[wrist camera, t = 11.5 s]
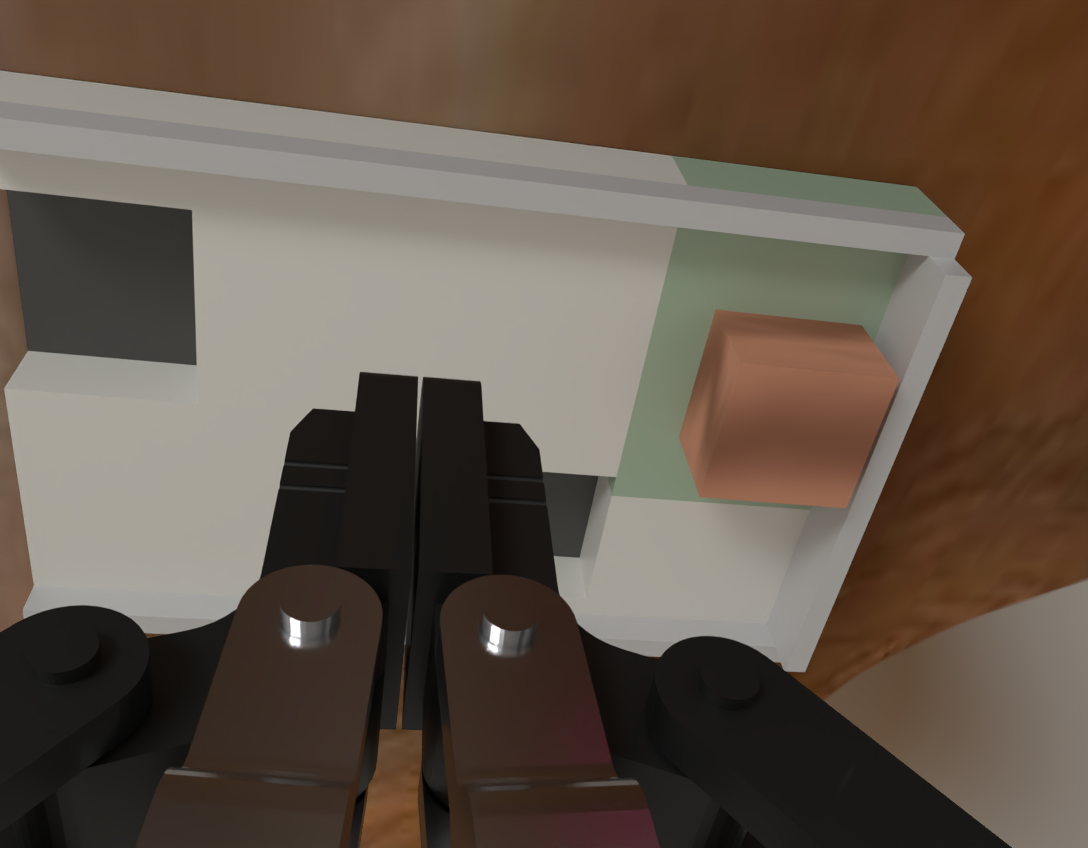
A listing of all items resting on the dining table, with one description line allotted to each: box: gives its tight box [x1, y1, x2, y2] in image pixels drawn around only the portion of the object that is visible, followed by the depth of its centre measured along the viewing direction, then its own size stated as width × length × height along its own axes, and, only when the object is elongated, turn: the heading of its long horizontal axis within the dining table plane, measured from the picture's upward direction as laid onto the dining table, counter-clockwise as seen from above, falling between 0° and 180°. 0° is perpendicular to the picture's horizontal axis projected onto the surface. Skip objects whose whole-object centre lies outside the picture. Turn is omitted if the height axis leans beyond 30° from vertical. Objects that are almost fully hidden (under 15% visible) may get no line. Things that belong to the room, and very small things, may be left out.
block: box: [679, 309, 899, 508], centre depth 40 cm, size 6×6×4 cm
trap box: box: [0, 71, 972, 672], centre depth 42 cm, size 22×34×6 cm, turn 81°
